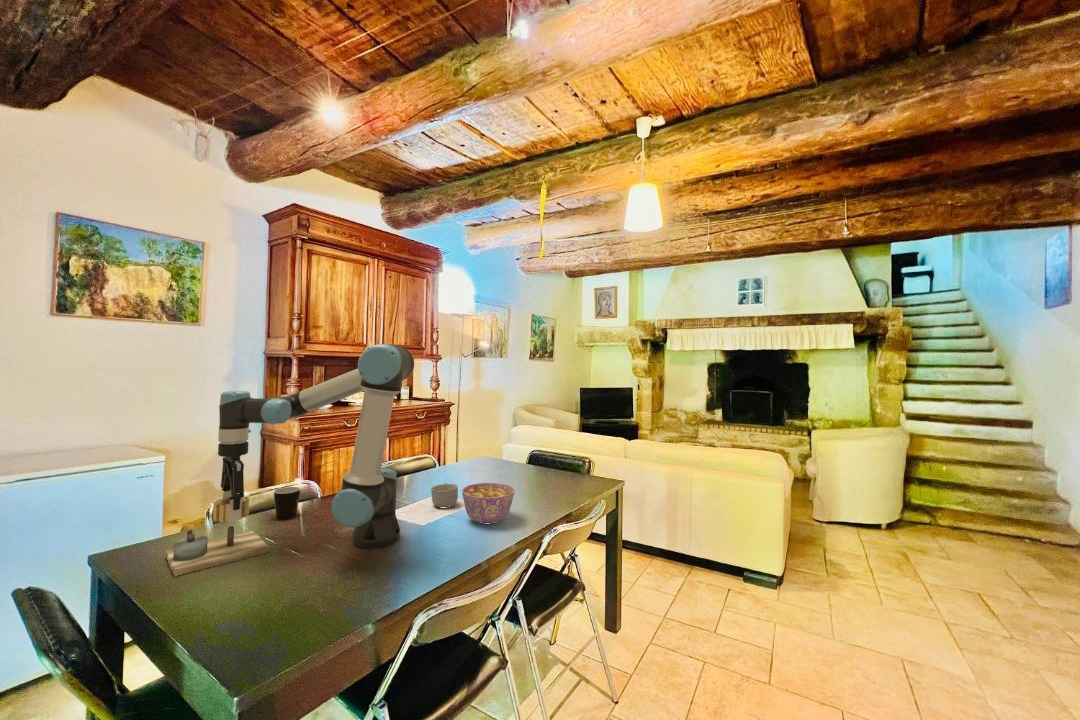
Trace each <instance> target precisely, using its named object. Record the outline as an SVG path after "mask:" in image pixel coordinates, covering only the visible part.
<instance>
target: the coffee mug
mask: <svg viewBox="0 0 1080 720" xmlns="http://www.w3.org/2000/svg"><path fill="white" fill-rule="evenodd" d="M300 495H301V487H298V486H287V487H286V486H285V487H280V488H277V489H275V490H273V498H274V508H275V519H276V518H277V519H276V520H278V521H287V520H288V521H289V520H291V519H294V518H296V517H297V514H298V507H299V499H300Z"/></svg>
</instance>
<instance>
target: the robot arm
mask: <svg viewBox="0 0 1080 720" xmlns="http://www.w3.org/2000/svg"><path fill="white" fill-rule="evenodd" d="M414 369H415V359H414V356H413V354H412V353H411V352H410V350H409V349H408V348H406V347H404V346H401V345H392V344H388V343H379V344H374V345H373V344H372V345H371V346H369V347H367V348H366V349H365V350H364V351H363V352H362V353H361V355H360V356H359V358H358V361H357V368H356V369H352V370H350V371H347V372H345V373H343V374H340V375H338V376H336V377H333V378H330V379H328V380H324V381H323V382H321V383H319V384H315V385H312V386H311V387H307V388H305V389H302V390H301V391H298V392H295V393H293V394H291V395H288V396H277V397H268V398H266V397H264V398H255V397H251V393H250V391H248V390H228V391H223V392H222V393H220V397H219V398H220V399H219V406H218V407H219V410H218V411H219V426H218V437H217V438H218V439H217V441H218V442H219V443H218V445H217V449H218V450H217V455H218V457H222V469H221V471H222V472H221V481H220V488H221V491H222V493H221V494H222V495H221V496H222V497H221V499H222V498H229V500H230V516H229V521H230V522H229V523H231V522H235V521H240V520H242V518H241V501H242V497H245V486H244V485H245V483H244V482H245V481H244V480H245V479H244V469H245V468H244V467H245V464H244V463H245V462H243V461H242V460H241V456H245V455H247V454H248V453H249V442H248V440H249V434H250V433H251V432H252V430H251V429H250V424H253V423H254V424H269V425H278V424H279V425H280V424H281V425H282V424H285V423H286V422H287V421H288V420H291V419H298V418H302V417H304V416H307V414H308V413H311V412H313V411H315V410H318V409H320V408H323V407H326V406H328V405H331V404H333V403H336V402H338V401H340V400H344V399H345V398H348V397H351V396H354V395H356V394H358V393H361V392H364V394H363V399H362V402H361V403H362V405H361V410H360V414H359V420H358V426H357V429H356V431H357V432H356V436H355V441H354V447H353V452H352V457H351V462H350V468H349V471H348V472H346V473H345V474H344V475H343V477H342V481H341V487H340V491H338V492H337V493H336V494H335V495H334V497H333V499H332V501H331V513H332V515H333V517H334V518H335V520H336V521H337V522H338V523H339V524H341V525H342V526H345V527H347V528H353V530H352V534H351V543H352V545H353V546H354V547H356V548H360V549H361V548H362V549H378V548H384V547H388V546H391V545H393V544H395V543H396V542H398V541H399V540H400V539H401V527H400V525H399V521H398V519H397V518H398V517H397V514H396V513H397V512H396V509H397V508H396V507H397V482H398V478H397V475H396V474H397V472H396V470H395V471H394V469H390V468H382V466H383V465H382V464H383V458H384V455H385V454H384V453H385V450H386V443H387V438H388V433H389V427H390V422H391V416H392V411H393V406H394V401H395V400H394V399H395V397H396V395H398V394H400V392H401V390H402V384H403V381H404V380H406V379H407V378H409V377H410V376H411V375H412V373H413V372H414Z"/></svg>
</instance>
